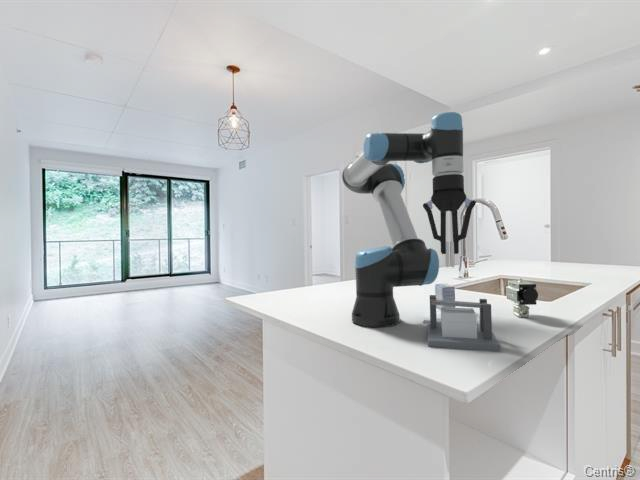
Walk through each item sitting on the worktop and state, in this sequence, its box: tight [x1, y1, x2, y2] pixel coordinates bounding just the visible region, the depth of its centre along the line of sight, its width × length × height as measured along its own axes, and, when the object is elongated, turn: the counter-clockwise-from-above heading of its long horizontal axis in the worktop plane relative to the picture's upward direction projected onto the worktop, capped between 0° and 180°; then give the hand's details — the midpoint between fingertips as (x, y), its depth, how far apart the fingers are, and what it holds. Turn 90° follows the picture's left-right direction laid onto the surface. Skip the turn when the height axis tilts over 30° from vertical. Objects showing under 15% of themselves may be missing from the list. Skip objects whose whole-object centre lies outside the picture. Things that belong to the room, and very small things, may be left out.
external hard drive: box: [422, 310, 441, 325], centre depth 107 cm, size 2×8×12 cm
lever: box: [431, 299, 488, 309], centre depth 87 cm, size 14×4×1 cm, turn 73°
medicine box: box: [434, 283, 457, 311], centre depth 119 cm, size 8×4×9 cm, turn 179°
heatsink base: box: [427, 294, 501, 352], centre depth 87 cm, size 16×14×10 cm
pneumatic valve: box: [504, 278, 539, 319], centre depth 107 cm, size 6×12×12 cm, turn 174°
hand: (450, 266), depth 87 cm, fingers closed
